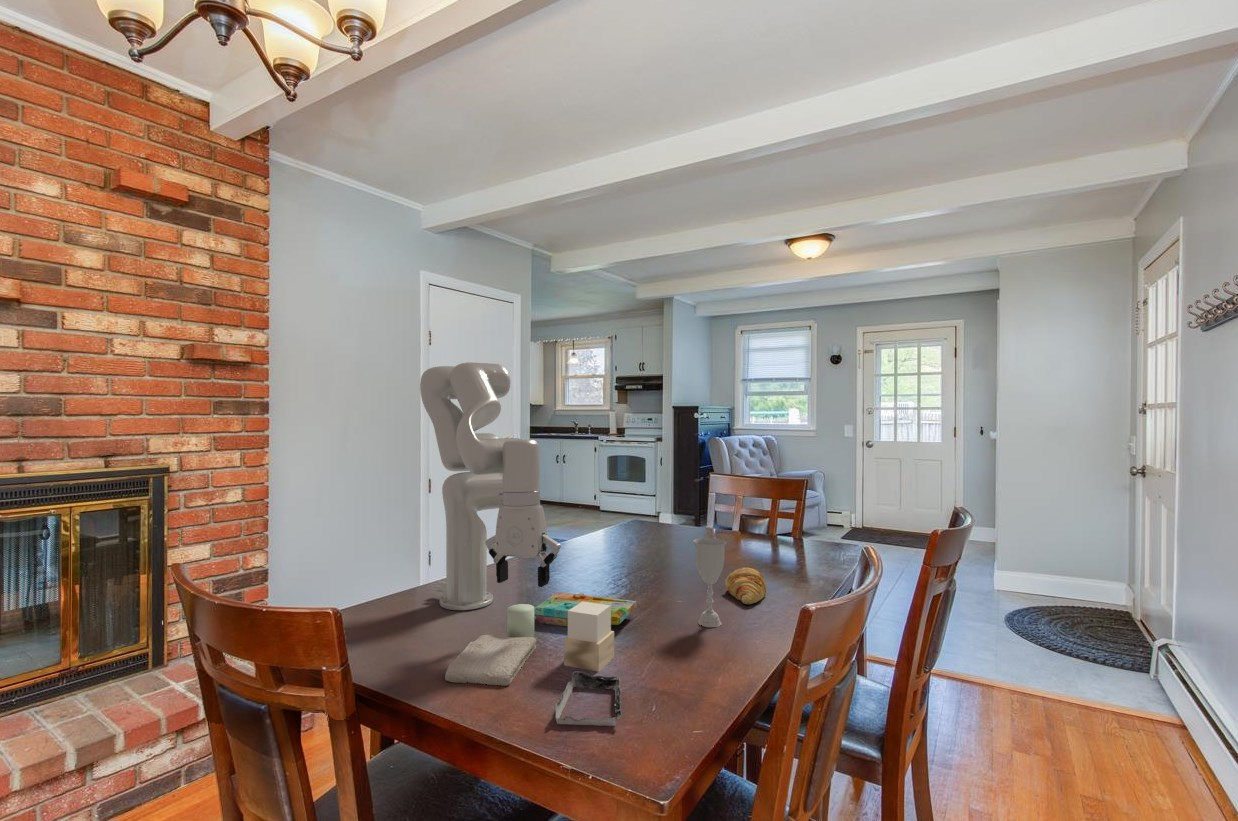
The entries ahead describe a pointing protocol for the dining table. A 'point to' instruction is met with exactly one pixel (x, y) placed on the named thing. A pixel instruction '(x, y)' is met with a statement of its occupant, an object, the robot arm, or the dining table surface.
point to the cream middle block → (589, 622)
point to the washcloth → (491, 660)
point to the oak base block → (589, 653)
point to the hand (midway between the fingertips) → (522, 583)
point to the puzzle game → (560, 603)
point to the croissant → (746, 585)
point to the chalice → (709, 573)
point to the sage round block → (520, 621)
